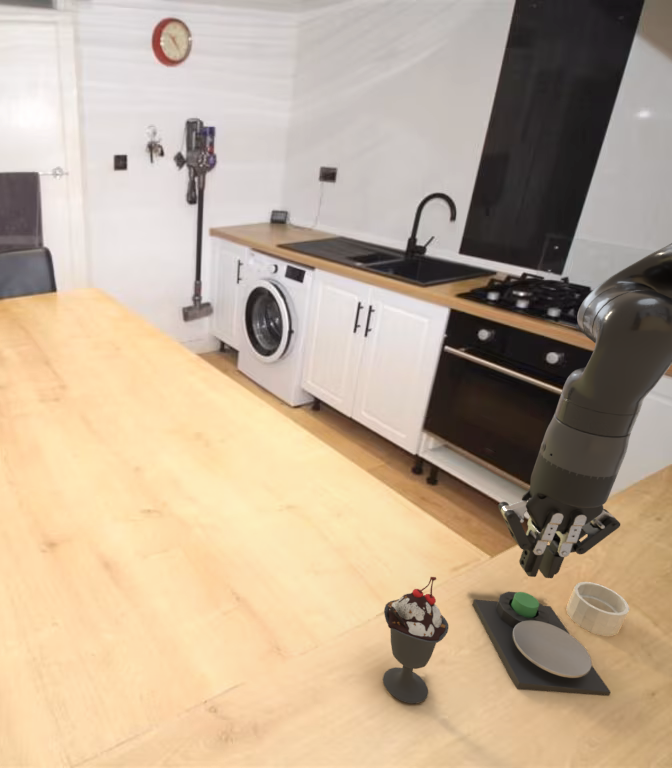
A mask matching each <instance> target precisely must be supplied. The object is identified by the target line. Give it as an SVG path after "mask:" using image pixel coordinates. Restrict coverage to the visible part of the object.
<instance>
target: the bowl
mask: <svg viewBox="0 0 672 768" xmlns="http://www.w3.org/2000/svg"><path fill="white" fill-rule="evenodd" d="M565 609H566V614H567V615H568V617H569V619H571V621H572V622H574V623H575V624H576V625H577V626H578V627H580V628H581V629H584V630H585V631H587V632H589V633H591V634H594V635H598V636H603V637H612V636H613V637H614V636H615V635H618V634H619V632H620V631H621V628H623V627H622V626H623V624H624V623H625V621H626V618H627V617H628V614H629V612H630V610H631V609H630V606H629V603H628V602H627V600H626V599H624V597H623V596H622V595H621V594H619V593H617V591H615V590H614V589H611V588H609V587H608V586H605V585H602V584H599V583H596V582H592V581H581V582H577V583H576V584H575V585H574V586H573V590H572V591H571V594H570V597H569V599H568V602H567V604H566V608H565Z"/></svg>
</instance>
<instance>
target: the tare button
mask: <svg viewBox="0 0 672 768" xmlns="http://www.w3.org/2000/svg"><path fill="white" fill-rule="evenodd" d="M516 592H517V593H515V595H514V598H513V601H512V604H511V607H512V609H513V610H514V611H515V612H516V613H518V614H519V615H522V616H524V617H528V618H532V617H534V616H535V615H536V612H537V610H538V607H539V603H540V602H539V600H538V599H537V597H535V596H533V595H532V594H530V593H528V592H524V591H516Z"/></svg>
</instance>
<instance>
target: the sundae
mask: <svg viewBox="0 0 672 768" xmlns="http://www.w3.org/2000/svg"><path fill="white" fill-rule="evenodd" d="M436 580H437V577H436V576H430V578H429V581H428V584H427V585H426V586H424V587H423V588H422V589H420V588H414V589H413V590H412V592H409V593H405V594H403V595H402V596H401V597H399V599H393V600H390V601H388V602H387V603H386V604H385V606H384V610H383V614H384V619H385V622H386V624H387V626H388V628H389V629H390V645H391V646H390V647H391V653H392V655H393V657H394V658H395V660H396V661H397V662H398V663H399V664H401V665H402V667H391V668H388V669H387V670H386V671H385V672H384V673H383V676H382V682H383V685H384V688H385V689H386V691H388V693H389V694H390V695H391V696H392V697H394V699H395V698H396V699H397V700H399V701H401V702H404V703H406V704H419V703H422V702H424V701H425V700H426V699H427V698H428V695H429V689H428V685H427V684H426V682H425V680H424V679H423V678H422V677H421V676H420V675H419V674H417V673H415V672H414V670H418V669H422V668H425V667H426V666H427V665H428V663H429V662H430V659H431V658H432V656H433V653H434V650H435V648H436V645H437V643H440V642H441V641H443V639H444V638H446V635H447V634H448V632H449V622H448V621H447V619H446V618H445V617H444V616H443V614H442V613H441V611H440V608H439V607H438V605H436V602H437V599H436V597H435V596H434V595H433V587H434V586H433V585H434V581H436ZM430 584H431V585H430ZM429 586H430V591H429V593H425V594H424V592H423V591H424V590H426V589H427V588H428V587H429Z"/></svg>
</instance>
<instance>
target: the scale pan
mask: <svg viewBox="0 0 672 768" xmlns="http://www.w3.org/2000/svg"><path fill="white" fill-rule="evenodd" d="M512 636H513V640H514V643H515V645H516V646H517V648H518V649H519V651H520V652H521V653H522V654H523V655H524V656H525V657H526V658H527V659H528V660H530V661H531V662H532V663H534V664H535V665H537V666H538V667H540V668H542V669H544V670H546V671H548V672H550V673H552V674H555V675H558V676H562V677H568V678H578V677H582V676H585V675H586V674H588V672H589V671H590V669H591V665H592V664H593V663H592V658H591V655H590V653H589V652H588V650H587V649H586V648H585V646H584V645H583V644H582V643H581V642H580V641H579V640H578V639H577V638H575V637H574V636H573V635H572V634H570V633H569V634H568V633H567V632H565V631H564V630H562V629H560V628H558V627H556V626H553V625H551V624H548V623H544V622H540V621H532V620H529V621H522V622H520V623H518V624H517V625H516V626H515V627H514V629H513V634H512ZM592 666H593V665H592Z"/></svg>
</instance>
